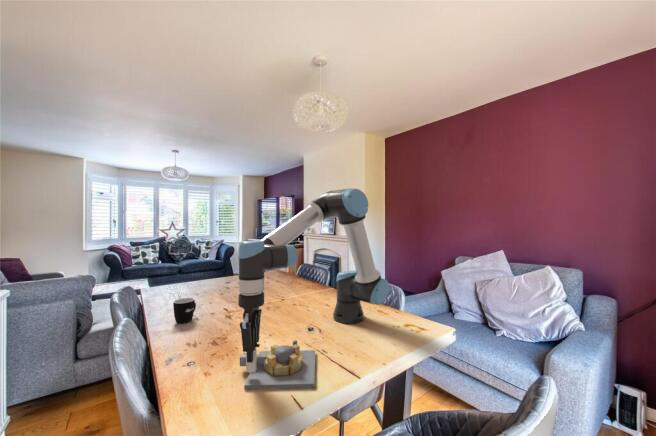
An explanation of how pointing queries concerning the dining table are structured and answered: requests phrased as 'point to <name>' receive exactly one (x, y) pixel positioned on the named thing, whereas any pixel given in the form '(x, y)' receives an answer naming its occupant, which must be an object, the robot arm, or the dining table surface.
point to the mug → (184, 310)
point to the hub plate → (295, 380)
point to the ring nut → (278, 368)
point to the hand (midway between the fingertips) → (251, 370)
